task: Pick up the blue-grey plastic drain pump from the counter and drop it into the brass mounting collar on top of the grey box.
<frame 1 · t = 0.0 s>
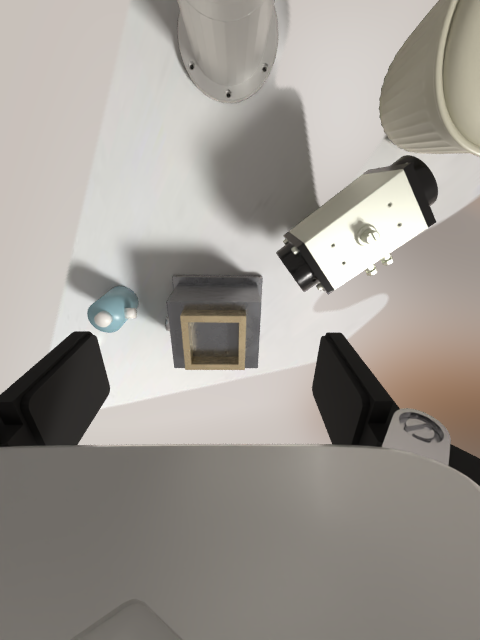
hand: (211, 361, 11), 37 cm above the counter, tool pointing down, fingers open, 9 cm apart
cream boxy piece: (323, 224, 44), on the counter
drain pump: (123, 300, 49), on the counter
grey box: (218, 310, 50), on the counter
canister: (420, 97, 36), on the counter
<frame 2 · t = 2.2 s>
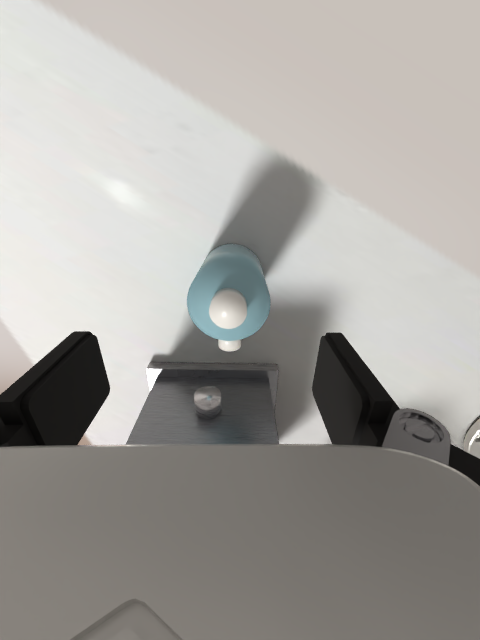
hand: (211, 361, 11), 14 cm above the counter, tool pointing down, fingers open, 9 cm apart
drain pump: (232, 274, 24), on the counter
grey box: (215, 417, 32), on the counter
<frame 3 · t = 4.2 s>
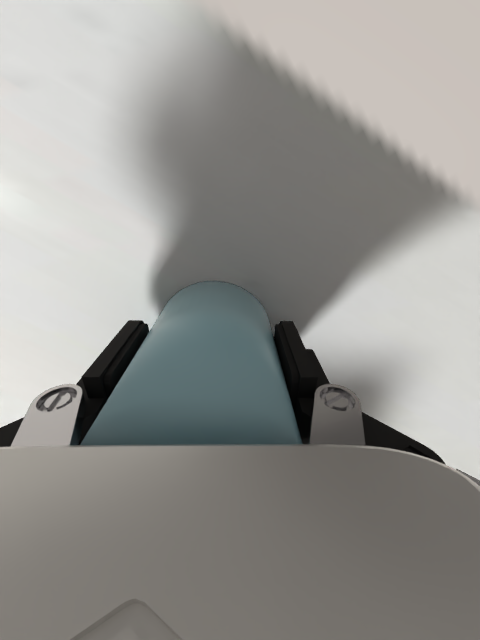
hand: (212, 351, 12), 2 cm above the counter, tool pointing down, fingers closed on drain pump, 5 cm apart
drain pump: (215, 334, 13), on the counter, touching gripper
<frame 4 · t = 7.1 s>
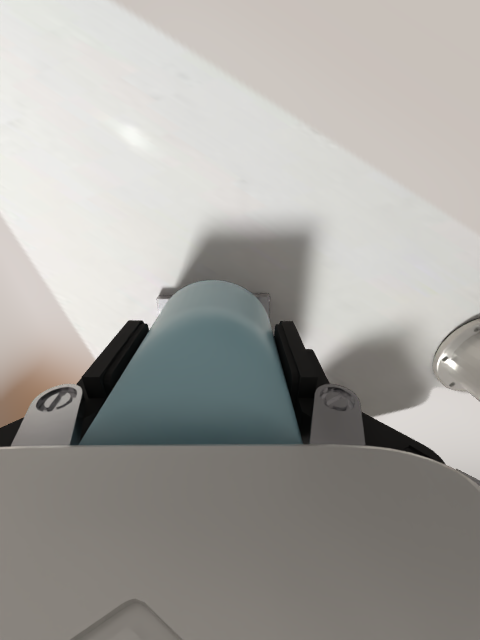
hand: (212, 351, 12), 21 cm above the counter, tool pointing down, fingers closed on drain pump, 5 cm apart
drain pump: (215, 333, 13), point 20 cm above the counter, touching gripper
grey box: (217, 347, 37), on the counter
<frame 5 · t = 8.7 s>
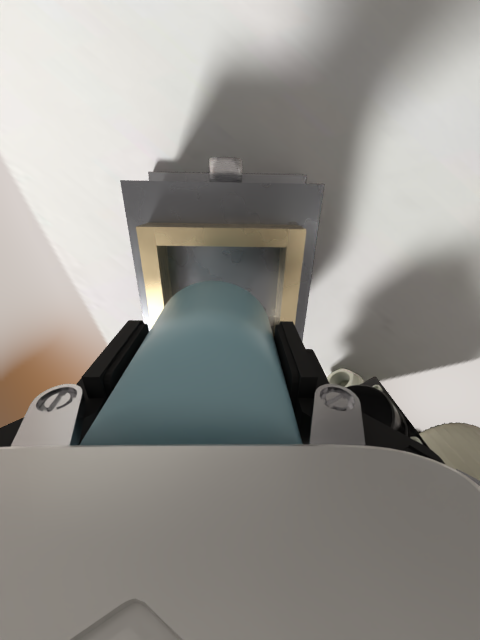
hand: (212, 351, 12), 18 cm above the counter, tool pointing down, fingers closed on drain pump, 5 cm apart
cream boxy piece: (344, 391, 36), on the counter
drain pump: (215, 334, 13), point 16 cm above the counter, touching gripper
grey box: (228, 260, 27), on the counter
canister: (437, 445, 41), on the counter
when the fingers open (13 cm above the counter, at t = 9.9 s): drain pump drops 1 cm, resting on grey box.
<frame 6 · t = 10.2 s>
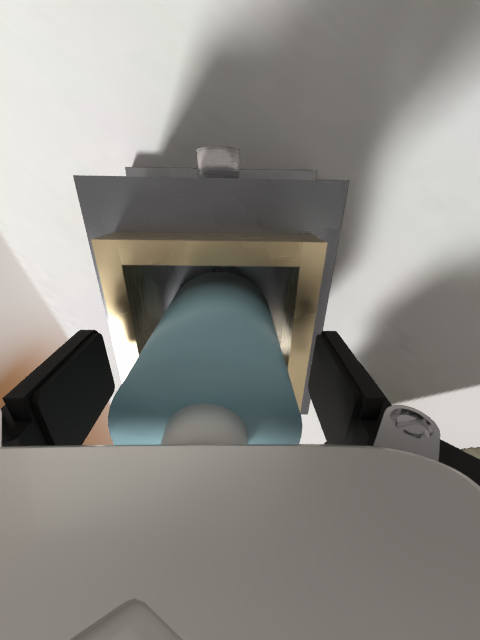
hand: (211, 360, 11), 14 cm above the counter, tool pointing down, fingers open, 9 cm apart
drain pump: (220, 321, 14), point 10 cm above the counter, touching grey box
grey box: (223, 271, 23), on the counter
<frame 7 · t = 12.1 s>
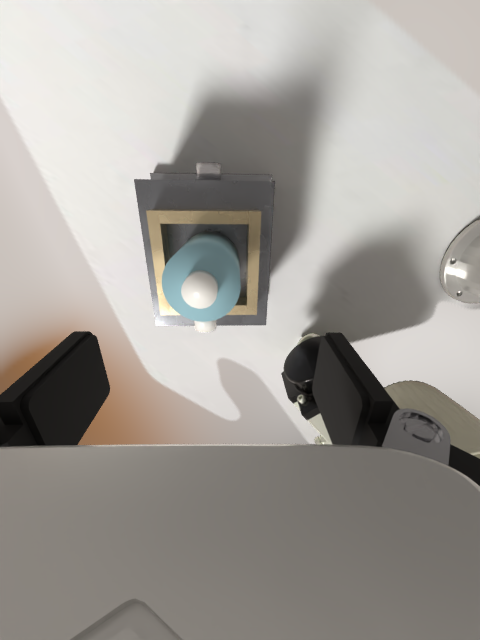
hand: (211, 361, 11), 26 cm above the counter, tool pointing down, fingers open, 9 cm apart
cream boxy piece: (314, 354, 43), on the counter
drain pump: (210, 261, 25), point 10 cm above the counter, touching grey box
grey box: (214, 243, 34), on the counter
canister: (395, 402, 48), on the counter
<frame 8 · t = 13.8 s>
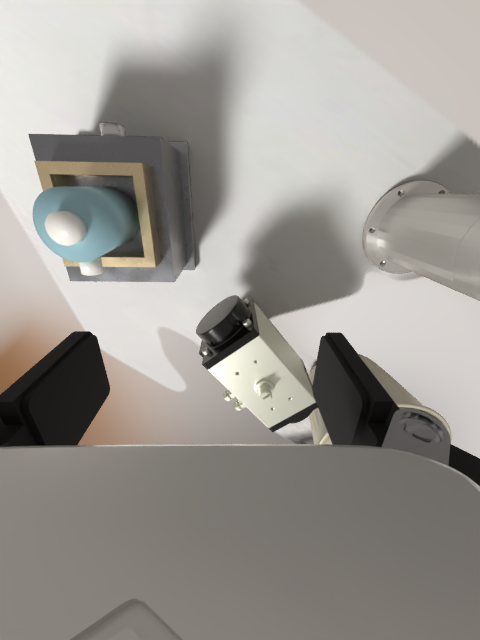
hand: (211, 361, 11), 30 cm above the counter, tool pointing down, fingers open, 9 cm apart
cream boxy piece: (251, 325, 45), on the counter
drain pump: (111, 216, 27), point 10 cm above the counter, touching grey box
grey box: (141, 210, 36), on the counter
canister: (337, 376, 50), on the counter
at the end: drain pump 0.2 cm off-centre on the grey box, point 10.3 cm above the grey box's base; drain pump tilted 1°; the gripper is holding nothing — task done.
